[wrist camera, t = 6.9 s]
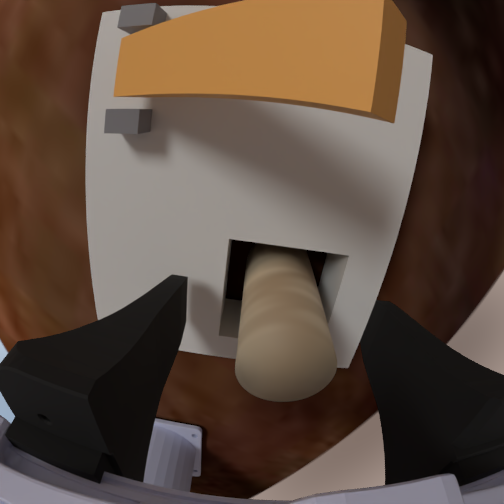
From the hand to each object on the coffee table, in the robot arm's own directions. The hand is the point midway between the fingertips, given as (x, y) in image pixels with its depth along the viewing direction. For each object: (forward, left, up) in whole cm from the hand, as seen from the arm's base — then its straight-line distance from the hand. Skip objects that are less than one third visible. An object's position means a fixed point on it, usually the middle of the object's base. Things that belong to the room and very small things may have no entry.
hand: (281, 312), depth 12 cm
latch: (+8, +3, +2) cm, 9 cm away
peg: (0, 0, -4) cm, 4 cm away
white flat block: (+4, +2, -4) cm, 6 cm away
